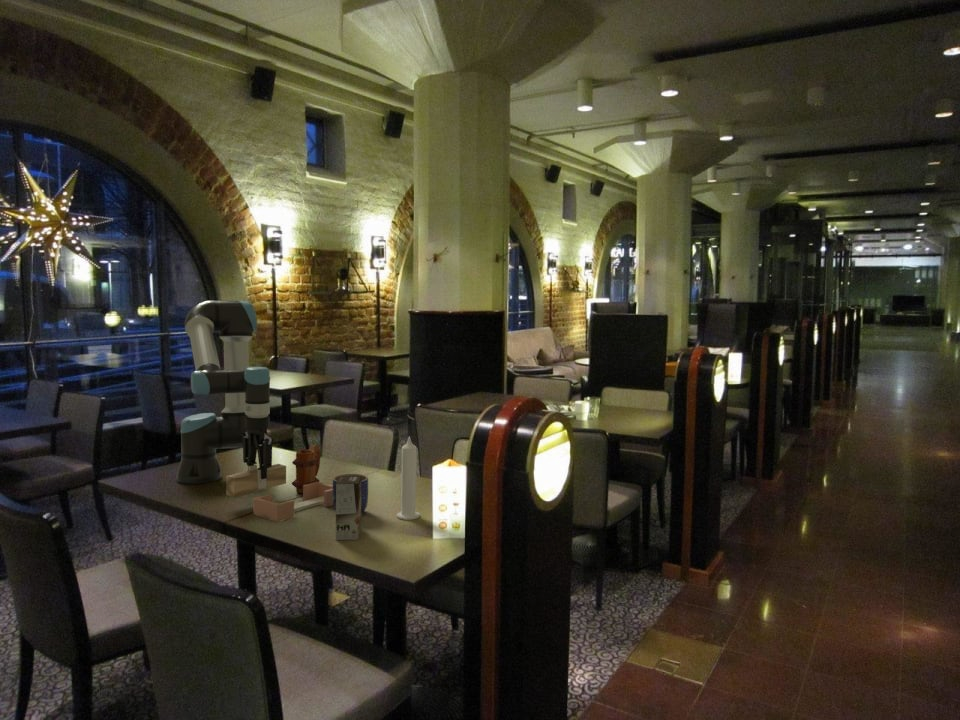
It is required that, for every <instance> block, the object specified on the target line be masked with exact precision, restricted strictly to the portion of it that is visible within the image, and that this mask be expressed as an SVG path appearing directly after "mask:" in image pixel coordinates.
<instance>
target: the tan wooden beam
mask: <svg viewBox="0 0 960 720" xmlns="http://www.w3.org/2000/svg"><path fill="white" fill-rule="evenodd" d="M225 476H226V479H225V482H226V485H225V487H226V488H225V489H226V494H225V495H226V496H229V497H232V498H237V497H240V496H244V495H247V494H251V493H257V492H261V491H263V490H268V489H270V488H271V489H272V488H275V487H278V486H282V485H284V484H285V485H286V484H287V465H284V464H281V463H274V464H272V467H270V468H267V478H266V488H263V489H258V468H257V469H254V470H250V471H248V470H246V471H242V472H237V473H233V474H229V475H225Z"/></svg>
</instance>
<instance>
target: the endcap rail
mask: <svg viewBox="0 0 960 720" xmlns="http://www.w3.org/2000/svg"><path fill="white" fill-rule="evenodd" d="M273 496H274V495H273V493H268V494H264V495H261V496H256V497H253V502H252V503H253V507H252V508H253V515H255V516H257V517H262V518H265V519H267V520H270V521H274V522H277V523H278V522H281V521H284V520H288V519H292V518H294V517H295V513H296V512H299V511H302V510H306V509H309V508H313V507H316V506H320V505H323V507H325V508H329V507H331V506H334V505H333V484H328V483H324V482H320V481H319V482H315V483H311V484H307V485H303V493H302V500H303V501H300V502H297V503H295V500H292V499H290V500H288V501H287V500H285V501H284V502H279V503H276V502H274V501H273V500H274V499H273V498H274V497H273Z"/></svg>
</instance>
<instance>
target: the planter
mask: <svg viewBox="0 0 960 720" xmlns="http://www.w3.org/2000/svg"><path fill="white" fill-rule="evenodd" d="M347 475H358V476H361V515H362V514H363V513H364V512H365V510H366V509H367V506H368V501H369V477H368V476H367V475H365V474H361V473H360V474H359V473H345V474H339V475H336V476H334V477H333V478H332V485H333V505H332V506H333V508H334V510H335V511H336V482H337V480H338V479H339V477H340V476H347Z"/></svg>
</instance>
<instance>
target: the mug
mask: <svg viewBox="0 0 960 720" xmlns="http://www.w3.org/2000/svg"><path fill="white" fill-rule="evenodd" d="M319 447H320V446H319V445H318V444H310V445H309V449H301V450H297V451H296V453H295V459H294V460H293V461H291V463H292V465H295V478H294V481H292V482H291V485H292V486H293V487H294V488H295V491H296V492H297V493H299V494H303V485H307V484H311V483H315V482H320V479H319V478H317V477H316V476H318V473H319V469H320V464H321V451H320V448H319Z"/></svg>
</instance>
